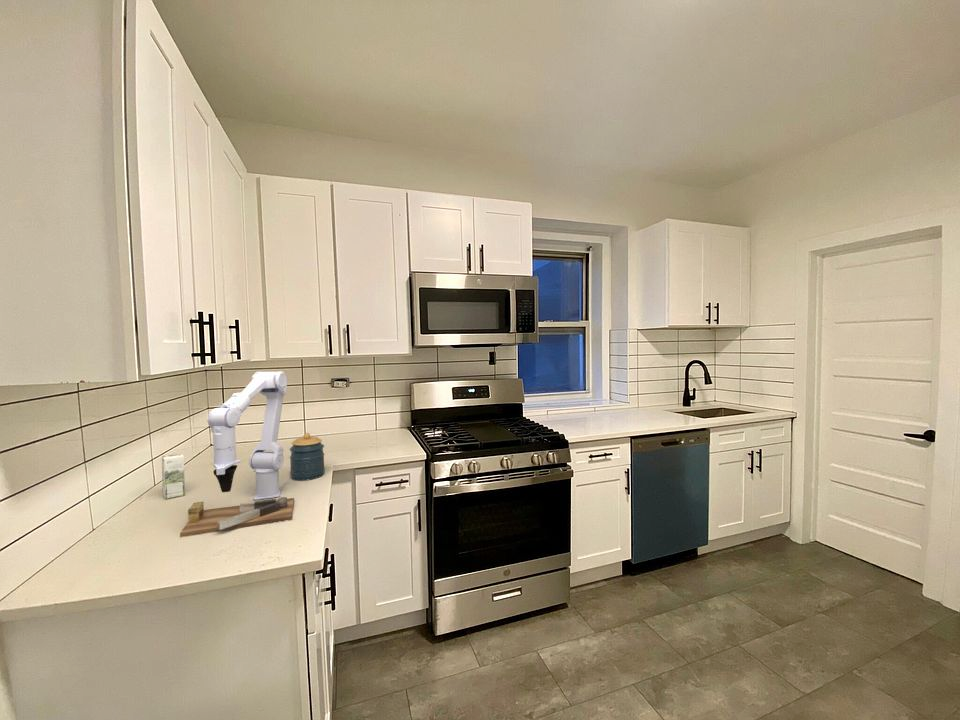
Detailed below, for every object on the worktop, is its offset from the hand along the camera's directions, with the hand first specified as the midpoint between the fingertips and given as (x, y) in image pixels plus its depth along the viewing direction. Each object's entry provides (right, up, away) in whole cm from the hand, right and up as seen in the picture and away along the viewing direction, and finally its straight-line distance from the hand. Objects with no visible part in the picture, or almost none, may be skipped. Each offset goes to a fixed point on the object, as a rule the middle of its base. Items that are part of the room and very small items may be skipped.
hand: (226, 491), depth 122 cm
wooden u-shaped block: (-8, -7, -2) cm, 11 cm away
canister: (+7, -8, +42) cm, 43 cm away
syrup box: (-32, -9, +21) cm, 39 cm away
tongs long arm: (+9, -7, -2) cm, 12 cm away
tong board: (+4, -9, +2) cm, 10 cm away
